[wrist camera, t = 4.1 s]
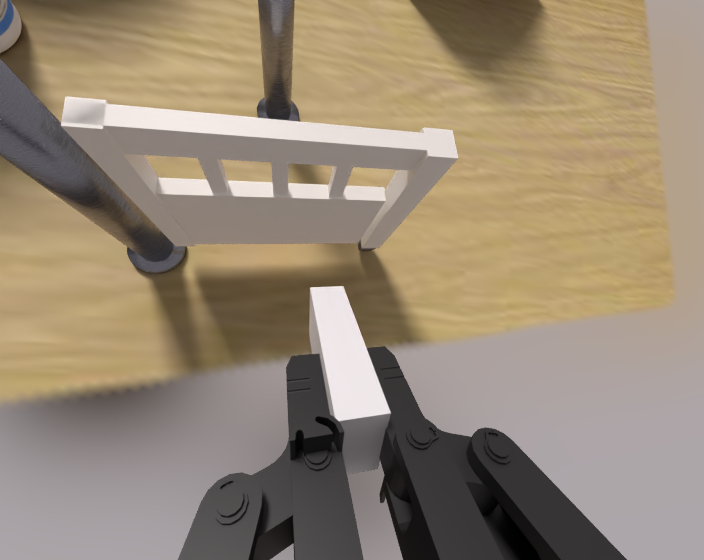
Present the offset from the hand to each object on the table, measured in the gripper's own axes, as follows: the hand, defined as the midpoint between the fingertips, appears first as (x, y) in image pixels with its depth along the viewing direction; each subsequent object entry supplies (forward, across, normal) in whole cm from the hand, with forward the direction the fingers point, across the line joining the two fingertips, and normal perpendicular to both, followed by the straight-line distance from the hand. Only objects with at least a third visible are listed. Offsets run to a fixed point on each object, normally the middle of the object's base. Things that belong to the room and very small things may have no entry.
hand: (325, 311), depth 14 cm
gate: (+19, -1, -5) cm, 20 cm away
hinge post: (+20, -14, -6) cm, 25 cm away
